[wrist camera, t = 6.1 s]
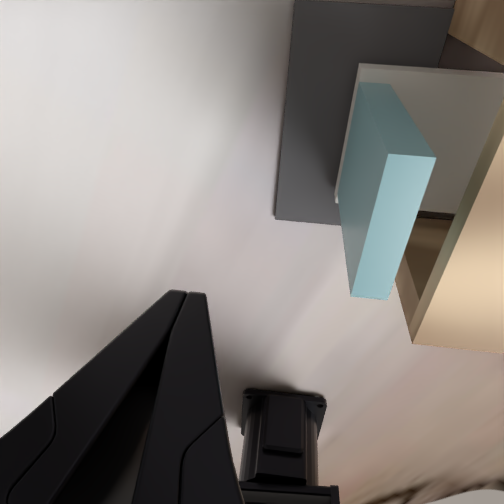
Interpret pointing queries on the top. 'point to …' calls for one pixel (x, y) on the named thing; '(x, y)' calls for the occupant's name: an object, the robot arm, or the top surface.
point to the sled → (406, 159)
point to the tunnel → (463, 230)
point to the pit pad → (340, 89)
